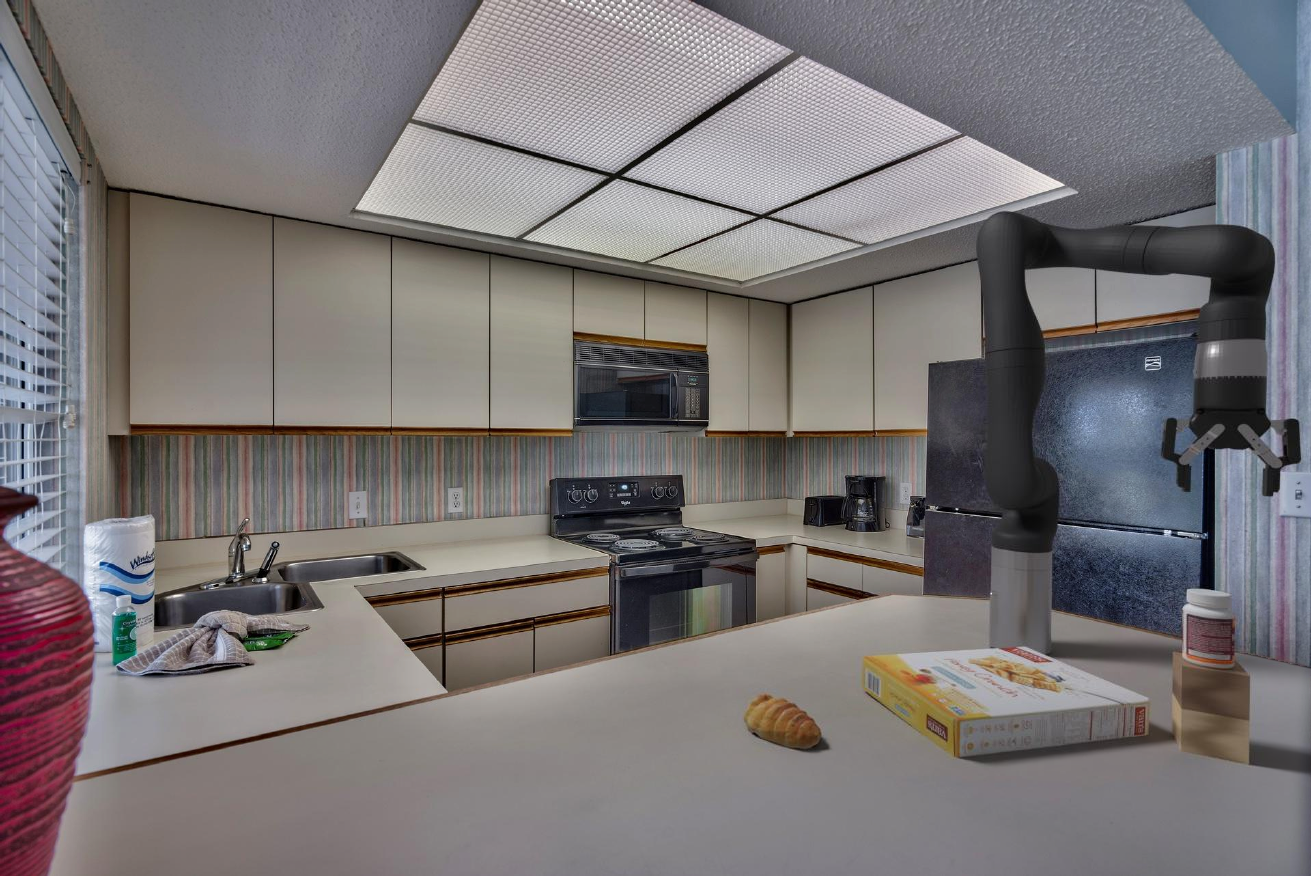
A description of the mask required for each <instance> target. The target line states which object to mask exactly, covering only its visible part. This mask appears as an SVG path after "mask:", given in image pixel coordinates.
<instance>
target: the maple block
mask: <svg viewBox="0 0 1311 876" xmlns="http://www.w3.org/2000/svg"><path fill="white" fill-rule="evenodd" d="M1171 702H1172V703H1171V705H1172V706H1171V709H1172V710H1171V733H1172V735H1173V737H1174V740H1175V741H1176V744H1177V745H1178V748H1179V750H1180V752H1183V753H1187V754H1193V755H1198V756H1202V757H1207V756H1208V758H1213V759H1217V758H1218V759H1217V760H1222V761H1223V760H1224V761H1227V760H1228V762H1233V763H1236V764H1237V763H1239V764H1241V765H1242V764H1243V765H1247V766H1249V765H1250V727H1251V726H1250V723H1251V722H1250V721H1248V720H1242V719H1237V718H1231V717H1225V716H1220V715H1214V714H1208V713H1203V712H1197V711H1191V710H1185V709H1181V707H1180V705H1179V703H1178V701H1177V699H1176V698H1175V696H1174V694H1173V692H1172V701H1171Z"/></svg>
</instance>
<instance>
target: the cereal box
mask: <svg viewBox="0 0 1311 876" xmlns="http://www.w3.org/2000/svg"><path fill="white" fill-rule="evenodd" d="M862 658H863V661H862V677H861V685H862V686H861V687H862V689H863V691H865V692H866V693H868V694H869V695H870V696H871V697H873V698H874V699H875V700H877V701H878V702H879V703H880V704H882V705H883V706H885V707H886V708H888V710H890V711H891V712H892V713H894V714H895V715H896V716H897V717H898V718H900V719H902V720H903V721H904V722H905V723H907V724H908V725H909V726H910V727H912V728H914V729H915V730H916V731H917V732H919V733H920V734H921V735H922V736H924V737H925V738H926V739H928V740H929V741H931V743H934V745H936V746H938V747H939V748H941V749H942V750H943V751H945V752H947V753H948V754H950V755H951V756H952V757H954V758H957V759H958V758H959V759H960V758H966V757H967V758H968V757H975V756H982V755H984V756H985V755H990V754H998V753H1007V752H1016V751H1026V750H1031V749H1032V750H1033V749H1043V748H1049V747H1050V748H1051V747H1057V746H1068V745H1074V744H1084V743H1092V742H1099V741H1108V740H1118V739H1125V738H1126V739H1127V738H1133V737H1135V738H1136V737H1141V736H1142V737H1143V736H1147V735H1149V728H1150V727H1149V726H1150V724H1149V723H1150V708H1151V706H1150V705H1151V700H1150V698H1149V697H1148V696H1147V697H1146V696H1144V695H1142V694H1139V693H1138V692H1135V691H1133V690H1130V689H1128V688H1125V687H1122V686H1121V685H1118V684H1115V683H1114V682H1110V681H1108V680H1106V679H1103V678H1101V677H1099V676H1096V675H1095V674H1094V675H1093V674H1091V673H1089V672H1086V671H1084V670H1082V669H1079V668H1077V667H1075V666H1072V665H1069V664H1067V663H1065V662H1063V661H1060V660H1057V659H1056V658H1053V657H1051V656H1048V655H1047V654H1046V655H1044V654H1041V653H1039V652H1037V651H1034V650H1032V649H1030V648H1027V647H1010V648H994V647H992V648H981V649H980V648H978V649H976V648H975V649H962V650H946V651H943V650H942V651H929V652H928V651H927V652H913V653H911V652H910V653H893V654H892V653H891V654H879V655H878V654H876V655H863V656H862Z"/></svg>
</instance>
